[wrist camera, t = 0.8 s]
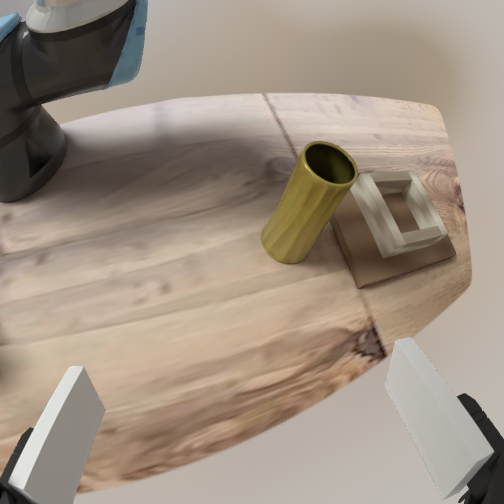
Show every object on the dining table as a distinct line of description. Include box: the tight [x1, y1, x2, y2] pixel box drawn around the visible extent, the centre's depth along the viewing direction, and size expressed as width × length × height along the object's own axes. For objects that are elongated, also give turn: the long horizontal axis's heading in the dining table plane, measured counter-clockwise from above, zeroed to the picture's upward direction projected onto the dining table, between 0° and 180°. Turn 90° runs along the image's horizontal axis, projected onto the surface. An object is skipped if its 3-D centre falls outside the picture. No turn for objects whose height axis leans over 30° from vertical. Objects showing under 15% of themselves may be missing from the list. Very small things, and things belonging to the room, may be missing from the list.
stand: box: [330, 171, 456, 289], centre depth 40 cm, size 16×20×5 cm
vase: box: [262, 141, 358, 263], centre depth 31 cm, size 6×6×14 cm
